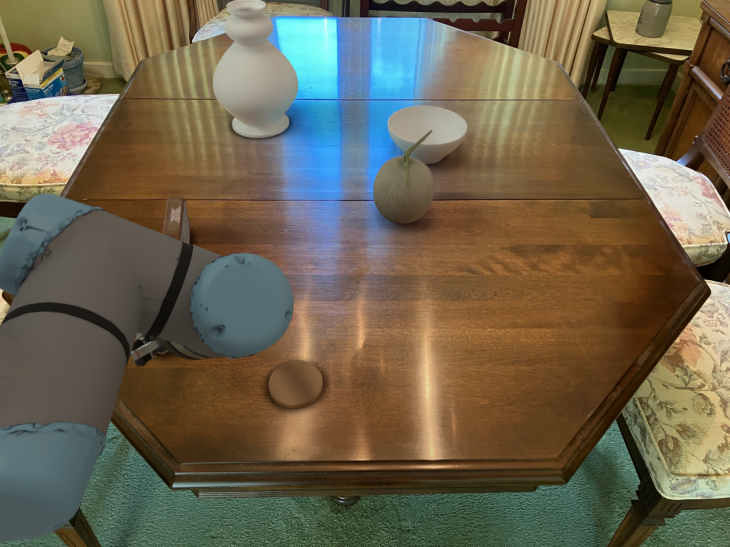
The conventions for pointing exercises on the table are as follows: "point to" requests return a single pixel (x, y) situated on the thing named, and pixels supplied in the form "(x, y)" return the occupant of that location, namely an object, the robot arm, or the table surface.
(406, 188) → the fruit
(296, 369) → the cork trivet
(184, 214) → the tin
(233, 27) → the decorative vase
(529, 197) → the table surface
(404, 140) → the bowl
